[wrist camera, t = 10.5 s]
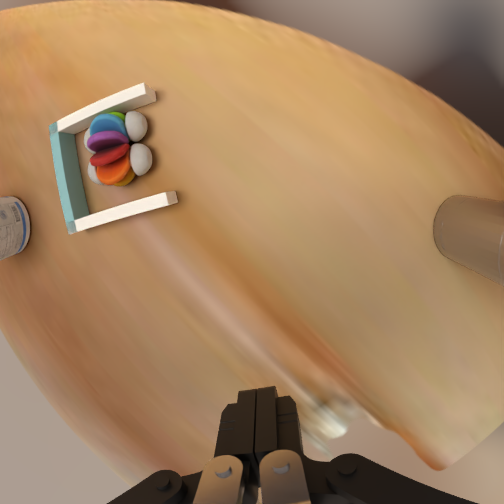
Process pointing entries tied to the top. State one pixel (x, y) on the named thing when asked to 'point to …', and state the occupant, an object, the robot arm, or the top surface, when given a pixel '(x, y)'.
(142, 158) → the multicoloured petal flower toy
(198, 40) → the top surface
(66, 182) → the bay
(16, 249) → the supplement tub
